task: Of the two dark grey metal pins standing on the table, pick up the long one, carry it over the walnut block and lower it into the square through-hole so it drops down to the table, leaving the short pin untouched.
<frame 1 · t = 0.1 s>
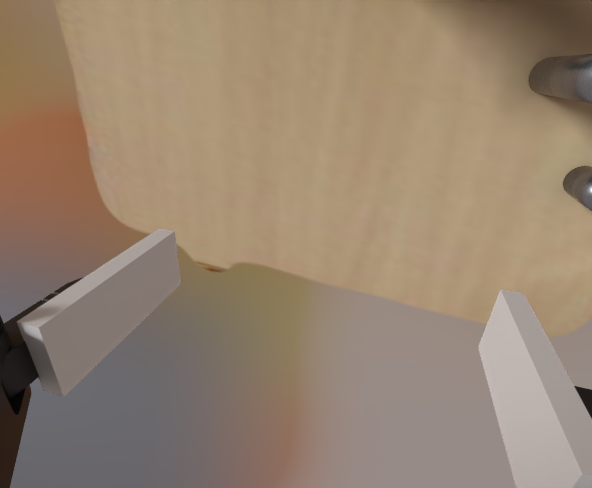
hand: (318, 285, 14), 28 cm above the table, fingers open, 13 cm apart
short pin: (581, 181, 34), on the table
long pin: (547, 76, 32), on the table
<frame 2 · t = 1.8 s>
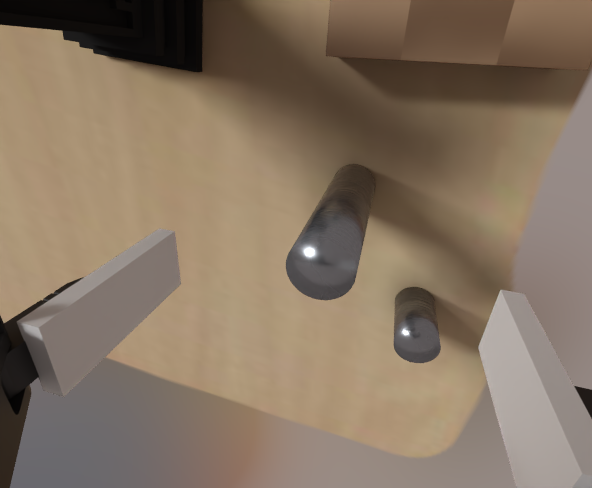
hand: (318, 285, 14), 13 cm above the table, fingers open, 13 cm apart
short pin: (414, 302, 28), on the table
long pin: (353, 185, 25), on the table
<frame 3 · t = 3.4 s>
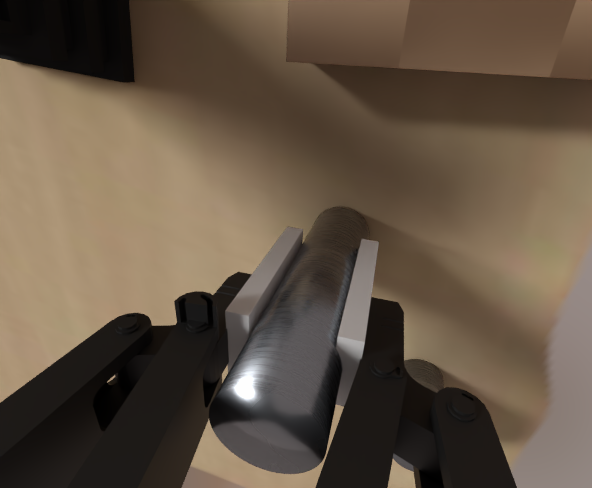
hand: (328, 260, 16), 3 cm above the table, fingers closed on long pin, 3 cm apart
short pin: (417, 377, 22), on the table
long pin: (340, 233, 19), on the table, touching gripper
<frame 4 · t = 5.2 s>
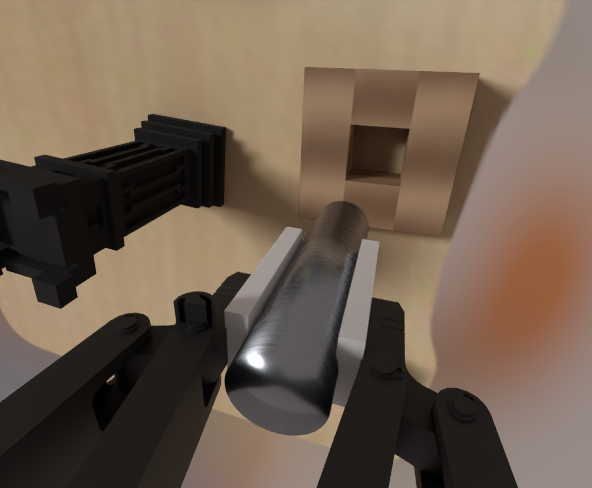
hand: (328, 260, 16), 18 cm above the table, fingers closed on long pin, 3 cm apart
hole block: (379, 146, 31), on the table
long pin: (341, 226, 20), point 14 cm above the table, touching gripper
chess piece: (190, 160, 37), on the table
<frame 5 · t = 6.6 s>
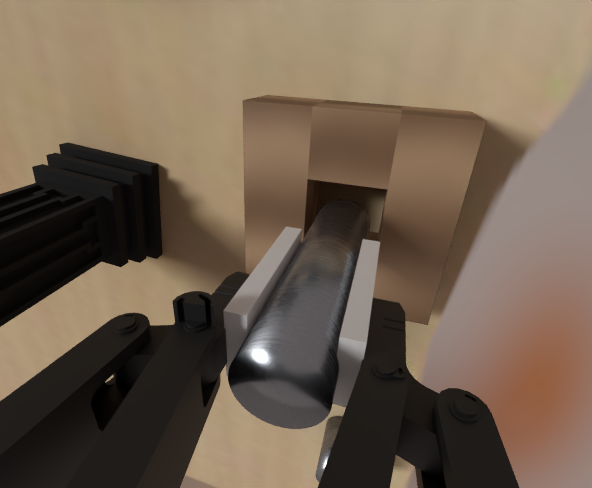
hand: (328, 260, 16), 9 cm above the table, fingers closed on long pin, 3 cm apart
short pin: (341, 427, 34), on the table
hole block: (350, 198, 24), on the table
long pin: (342, 224, 20), point 4 cm above the table, touching gripper
chess piece: (118, 200, 29), on the table
when the fingers open (6 cm above the table, at t = 7.3 s): long pin drops 1 cm, resting in hole block.
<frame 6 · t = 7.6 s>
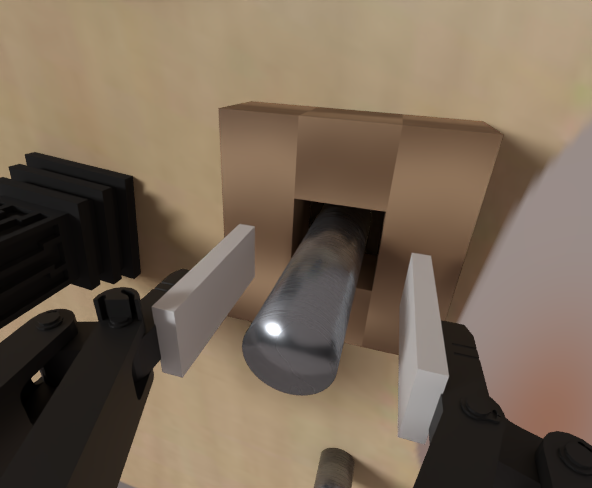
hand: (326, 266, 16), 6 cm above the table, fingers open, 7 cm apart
short pin: (337, 459, 31), on the table
hole block: (345, 217, 21), on the table
long pin: (346, 216, 21), resting in hole block
chess piece: (92, 214, 27), on the table
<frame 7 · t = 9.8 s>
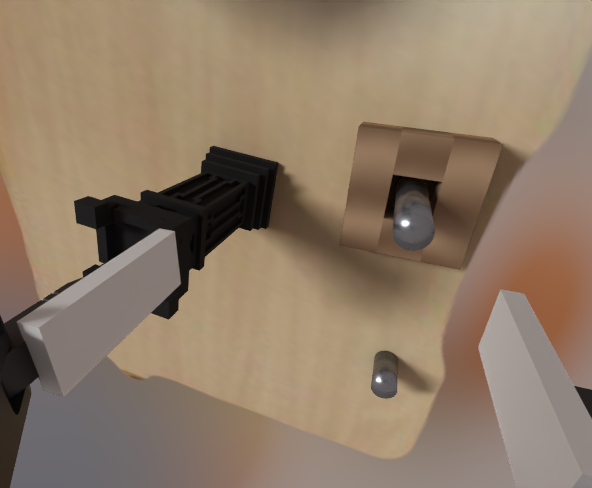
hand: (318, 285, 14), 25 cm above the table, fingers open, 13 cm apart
short pin: (386, 359, 46), on the table
hole block: (411, 189, 36), on the table
long pin: (411, 189, 36), resting in hole block
chess piece: (242, 186, 42), on the table
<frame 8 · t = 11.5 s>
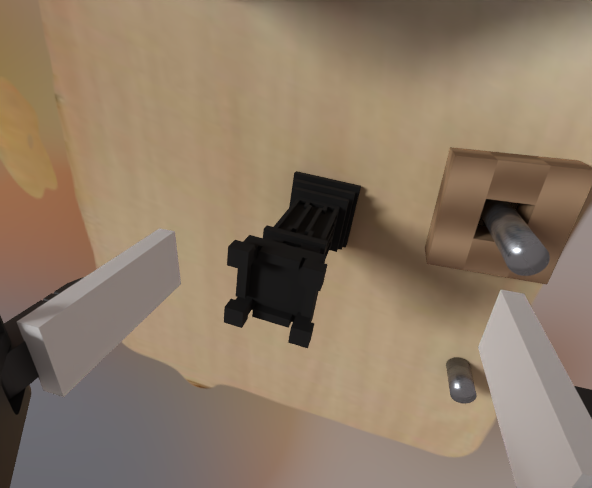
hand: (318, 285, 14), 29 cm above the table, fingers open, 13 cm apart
short pin: (457, 365, 49), on the table
hole block: (494, 208, 38), on the table
long pin: (494, 208, 38), resting in hole block
chess piece: (322, 208, 44), on the table
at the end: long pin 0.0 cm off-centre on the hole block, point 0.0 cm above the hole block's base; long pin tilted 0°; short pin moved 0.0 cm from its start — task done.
